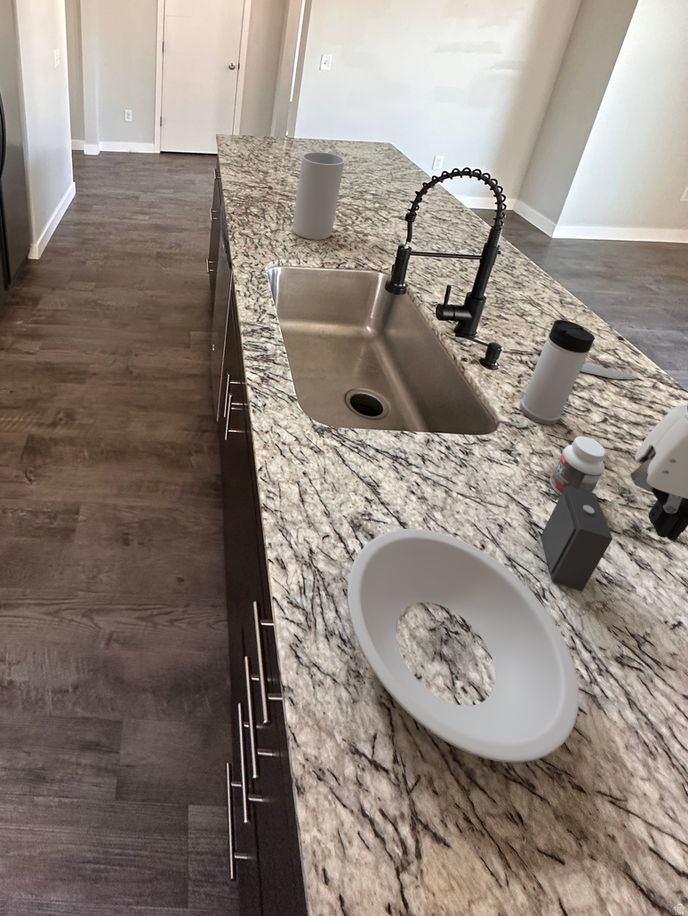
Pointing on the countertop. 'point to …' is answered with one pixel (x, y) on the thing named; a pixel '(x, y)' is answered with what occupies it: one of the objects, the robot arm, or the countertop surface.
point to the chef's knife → (604, 371)
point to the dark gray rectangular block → (575, 538)
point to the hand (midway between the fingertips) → (661, 528)
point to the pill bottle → (579, 466)
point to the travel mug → (556, 371)
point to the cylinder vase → (317, 195)
